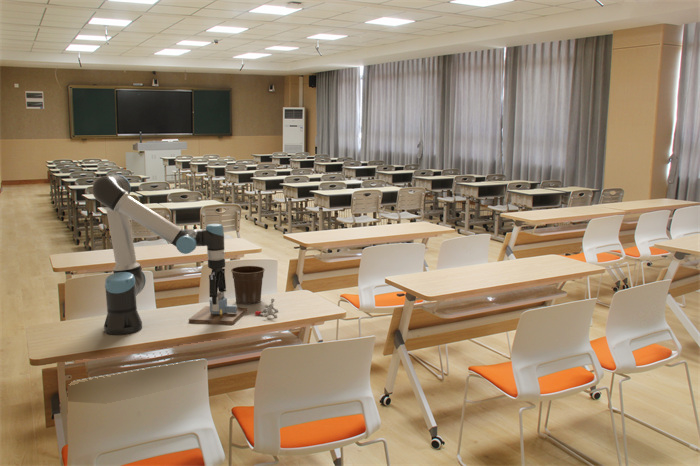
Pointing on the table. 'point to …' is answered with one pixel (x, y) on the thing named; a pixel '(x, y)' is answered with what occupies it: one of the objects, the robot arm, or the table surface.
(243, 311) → the post base
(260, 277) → the plant pot
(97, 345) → the table surface
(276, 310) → the molecular model
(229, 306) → the flange collar
